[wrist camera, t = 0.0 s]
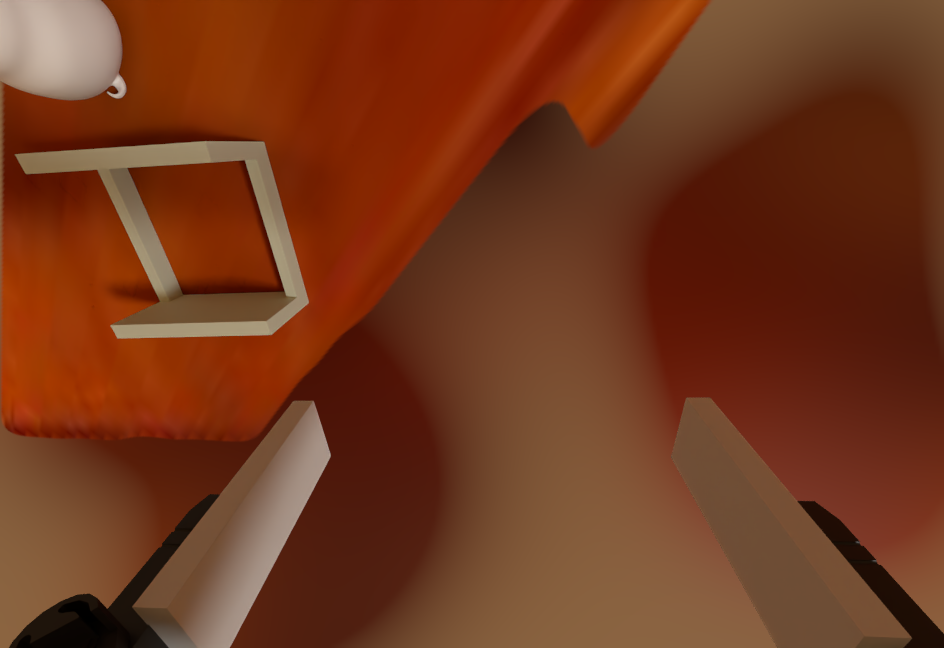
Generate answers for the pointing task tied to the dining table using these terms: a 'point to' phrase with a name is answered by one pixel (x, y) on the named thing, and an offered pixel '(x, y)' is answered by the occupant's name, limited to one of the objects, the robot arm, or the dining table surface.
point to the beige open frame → (174, 308)
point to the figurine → (60, 48)
